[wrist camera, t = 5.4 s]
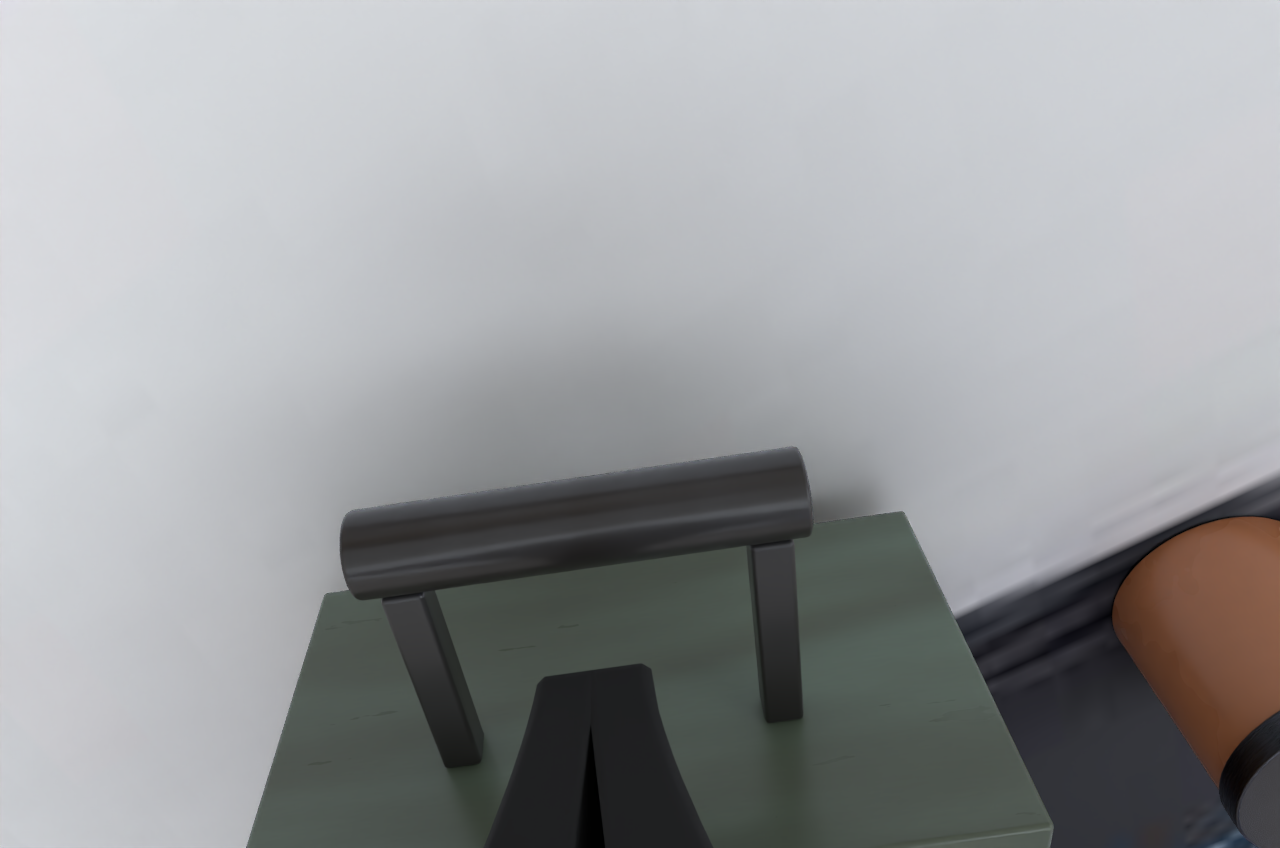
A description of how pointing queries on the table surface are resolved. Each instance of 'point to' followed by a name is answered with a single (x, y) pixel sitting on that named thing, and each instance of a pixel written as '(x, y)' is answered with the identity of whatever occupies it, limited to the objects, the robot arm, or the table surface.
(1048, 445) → the table surface
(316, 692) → the drawer
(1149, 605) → the spice tin
